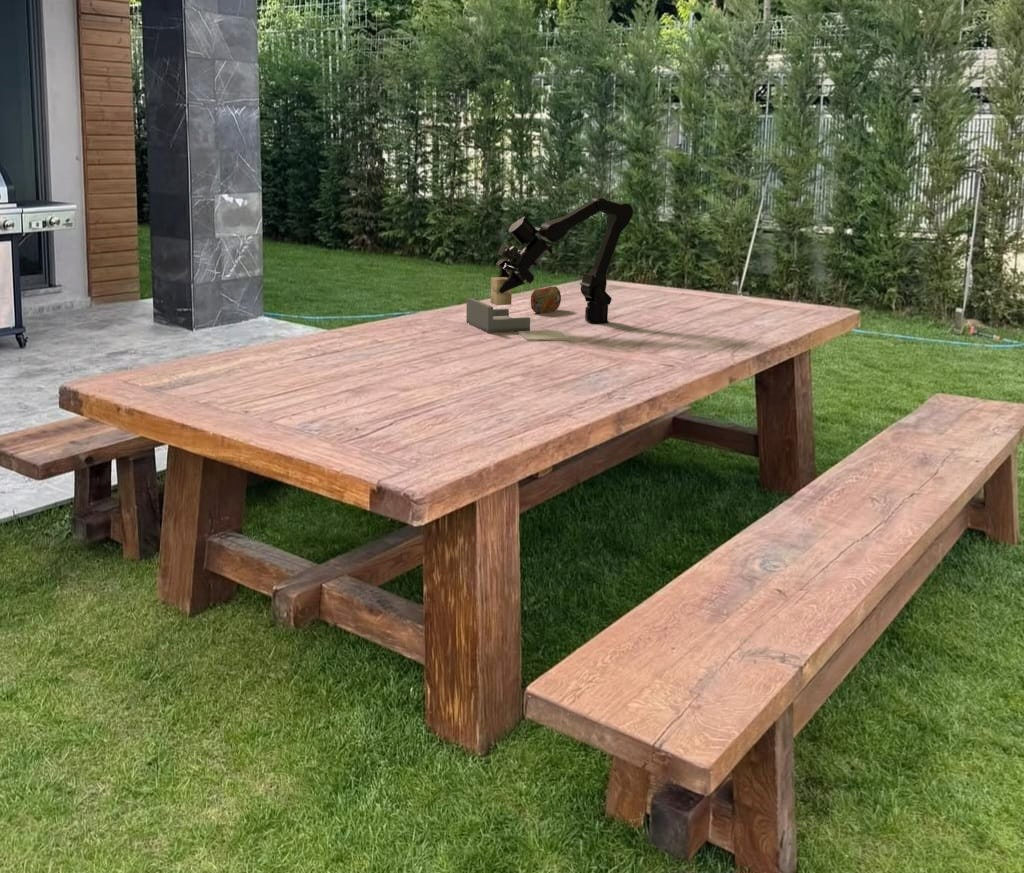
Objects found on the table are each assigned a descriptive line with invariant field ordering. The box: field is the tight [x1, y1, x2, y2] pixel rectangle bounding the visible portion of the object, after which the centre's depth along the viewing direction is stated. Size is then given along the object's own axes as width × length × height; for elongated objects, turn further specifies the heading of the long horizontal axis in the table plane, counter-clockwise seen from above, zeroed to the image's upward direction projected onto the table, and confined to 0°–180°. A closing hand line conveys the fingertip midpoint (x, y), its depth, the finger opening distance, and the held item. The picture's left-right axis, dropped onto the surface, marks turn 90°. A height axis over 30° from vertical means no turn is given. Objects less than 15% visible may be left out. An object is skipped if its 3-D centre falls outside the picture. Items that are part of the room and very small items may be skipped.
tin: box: [530, 286, 562, 314], centre depth 380 cm, size 15×3×8 cm, turn 143°
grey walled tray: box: [465, 297, 531, 334], centre depth 349 cm, size 14×19×8 cm
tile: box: [517, 330, 571, 342], centre depth 335 cm, size 13×13×1 cm
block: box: [490, 276, 513, 306], centre depth 347 cm, size 5×5×8 cm
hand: (497, 290), depth 347 cm, fingers closed on block, 5 cm apart
